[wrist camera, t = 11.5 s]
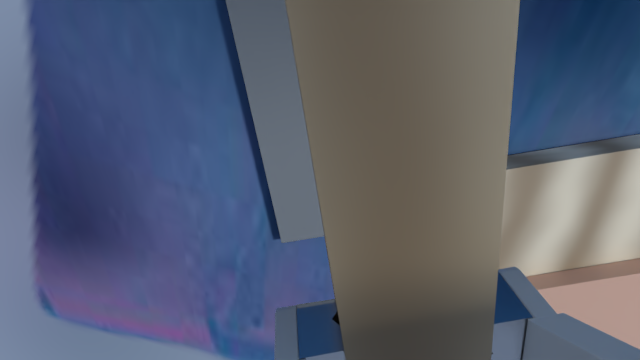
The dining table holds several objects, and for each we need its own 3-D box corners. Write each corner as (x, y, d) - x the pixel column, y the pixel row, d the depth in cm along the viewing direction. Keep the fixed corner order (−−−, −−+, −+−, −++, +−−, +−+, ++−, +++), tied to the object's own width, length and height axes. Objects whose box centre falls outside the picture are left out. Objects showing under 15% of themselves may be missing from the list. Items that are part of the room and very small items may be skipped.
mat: (388, -244, 18) (391, -250, 18) (409, 217, 30) (411, 221, 30) (178, -210, 18) (175, -215, 18) (281, 238, 30) (281, 242, 30)
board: (732, 118, 29) (762, 128, 27) (651, 344, 40) (668, 362, 38) (434, 167, 29) (444, 179, 27) (436, 380, 40) (443, 398, 38)
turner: (538, -397, 6) (774, -748, 3) (480, 431, 15) (524, 532, 12) (118, -336, 5) (-35, -639, 3) (321, 460, 15) (330, 567, 12)
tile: (670, 268, 30) (635, 370, 36) (653, 255, 31) (622, 356, 37) (515, 293, 30) (504, 392, 35) (505, 279, 31) (496, 377, 37)
